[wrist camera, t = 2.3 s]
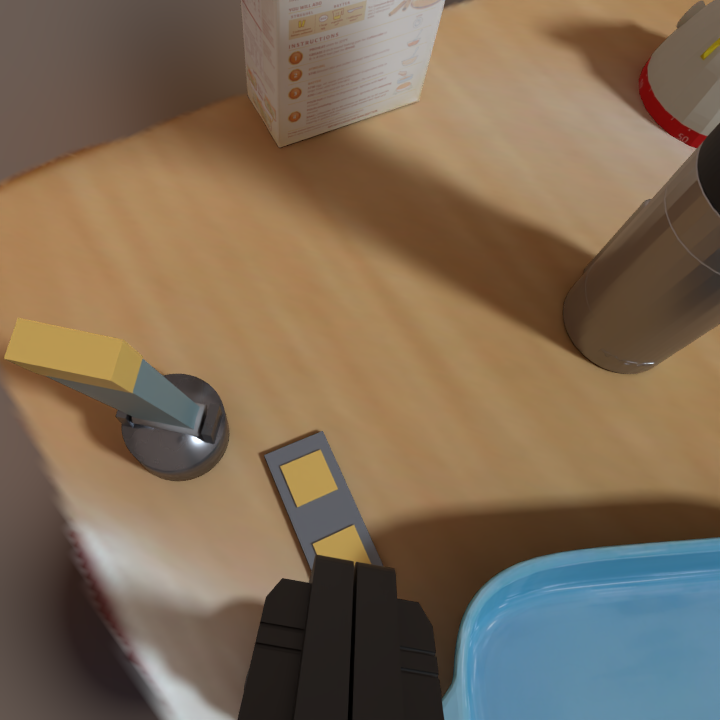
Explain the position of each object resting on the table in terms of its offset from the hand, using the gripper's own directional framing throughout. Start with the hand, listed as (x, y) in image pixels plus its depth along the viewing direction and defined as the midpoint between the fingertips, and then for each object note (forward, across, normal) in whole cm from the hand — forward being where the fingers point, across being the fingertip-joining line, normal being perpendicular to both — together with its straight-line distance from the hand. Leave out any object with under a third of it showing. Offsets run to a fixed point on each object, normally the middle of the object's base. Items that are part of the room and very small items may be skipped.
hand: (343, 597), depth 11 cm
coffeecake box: (+51, +5, -11) cm, 53 cm away
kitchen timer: (+58, -31, -19) cm, 69 cm away
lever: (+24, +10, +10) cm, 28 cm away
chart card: (+25, -1, +16) cm, 30 cm away
